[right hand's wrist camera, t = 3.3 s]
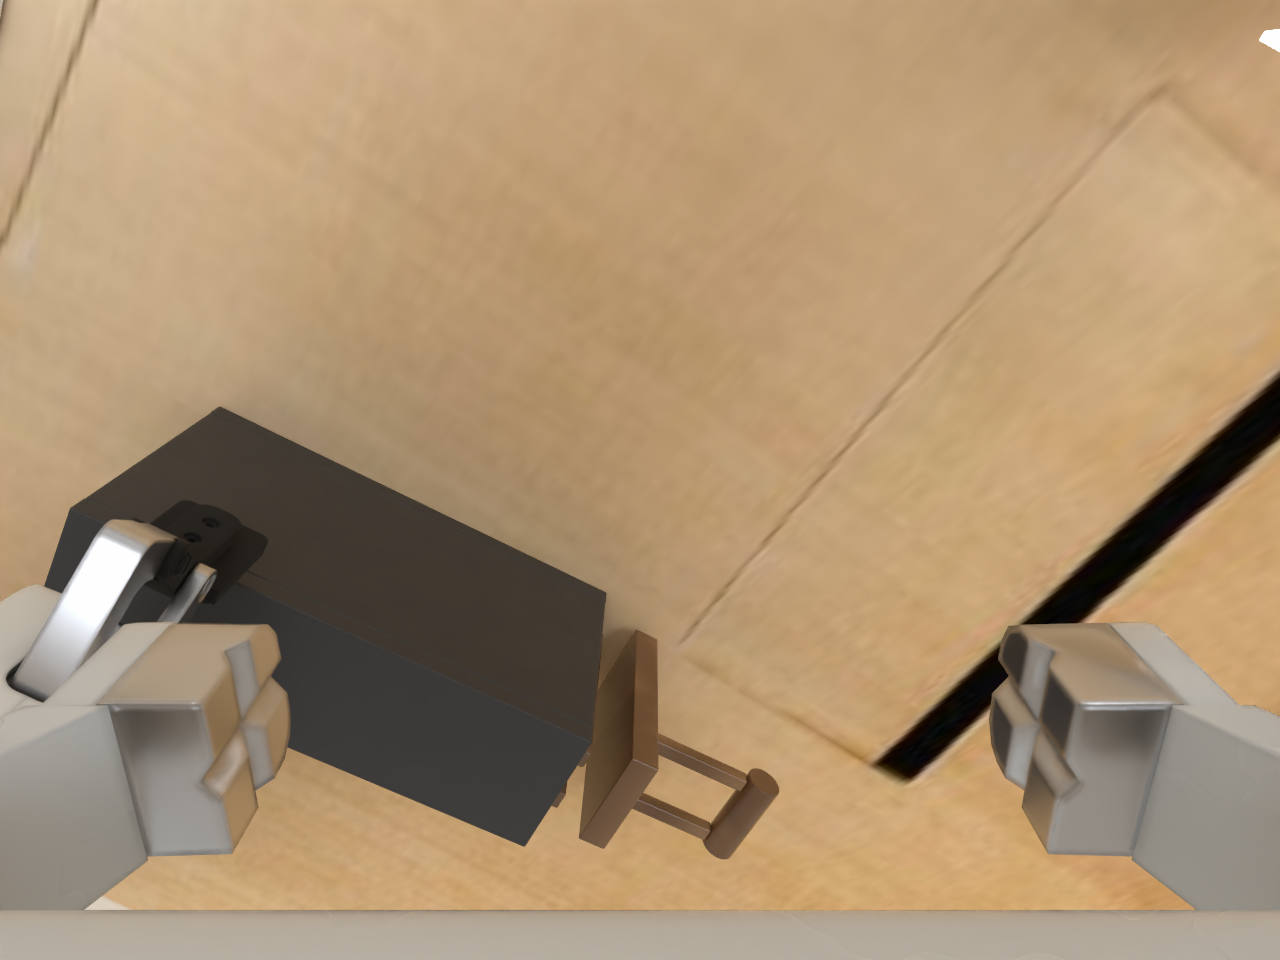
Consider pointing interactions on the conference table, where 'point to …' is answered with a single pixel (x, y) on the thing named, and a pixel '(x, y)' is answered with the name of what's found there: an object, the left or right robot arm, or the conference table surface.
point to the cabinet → (383, 623)
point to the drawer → (654, 762)
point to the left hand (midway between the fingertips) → (181, 631)
